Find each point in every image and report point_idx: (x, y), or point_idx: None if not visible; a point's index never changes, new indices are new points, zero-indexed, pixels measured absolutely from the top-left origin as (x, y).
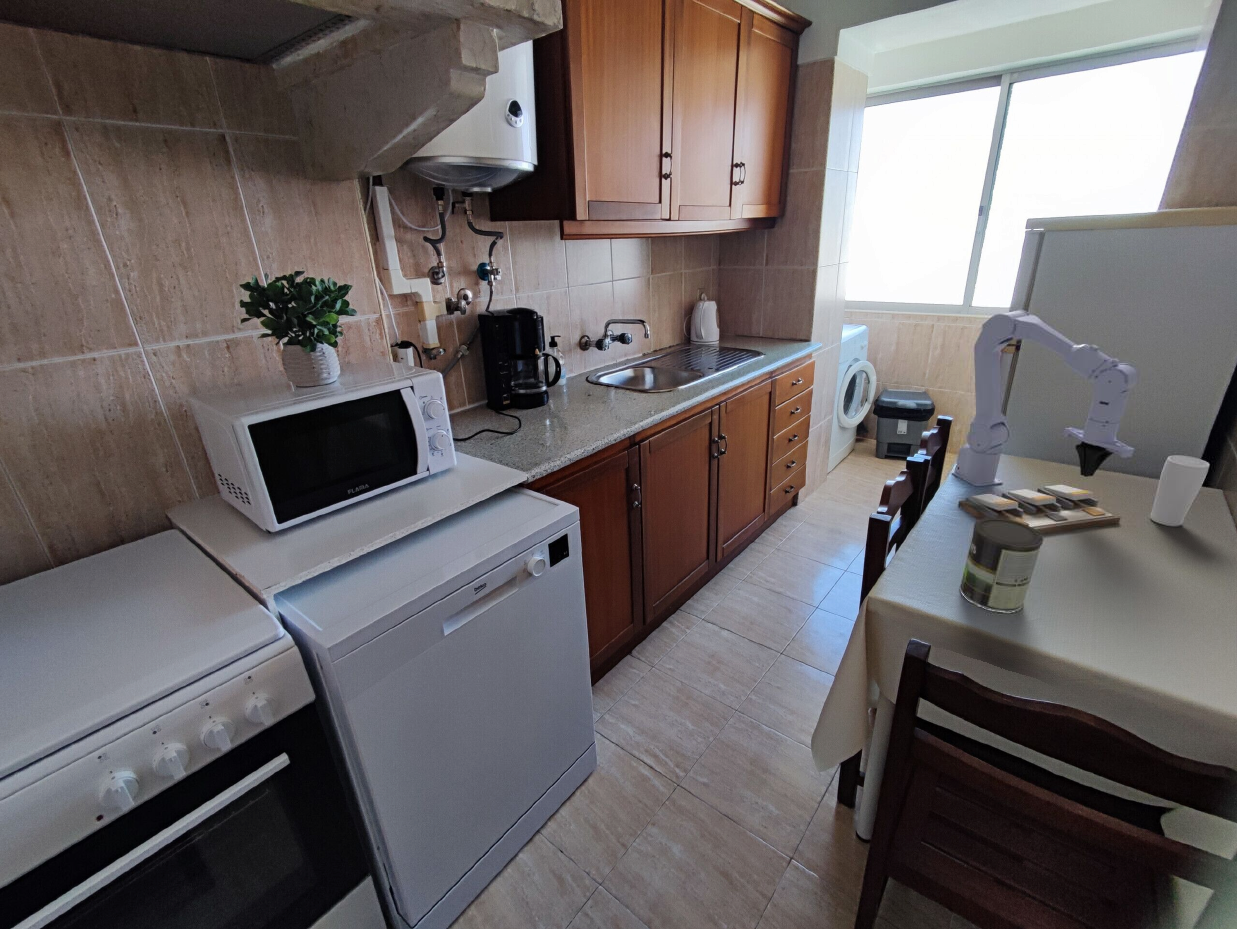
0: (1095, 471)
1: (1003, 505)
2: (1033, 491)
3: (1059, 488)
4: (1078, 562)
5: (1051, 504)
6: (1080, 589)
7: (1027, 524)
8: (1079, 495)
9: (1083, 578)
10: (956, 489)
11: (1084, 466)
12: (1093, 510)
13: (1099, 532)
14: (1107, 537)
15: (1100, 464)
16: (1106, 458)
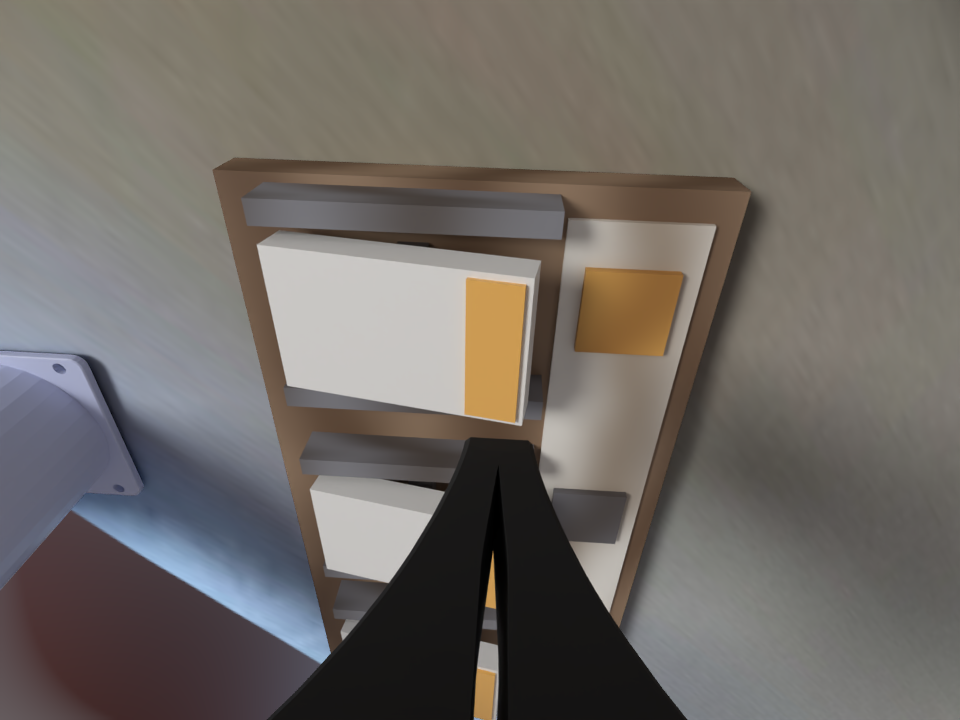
0: (539, 474)
1: (497, 706)
2: (363, 503)
3: (349, 350)
4: (823, 612)
5: None
6: (901, 692)
7: None
8: (526, 389)
9: (881, 657)
10: (176, 557)
11: (496, 619)
12: (618, 308)
13: (738, 382)
14: (790, 392)
15: (573, 557)
16: (634, 656)
